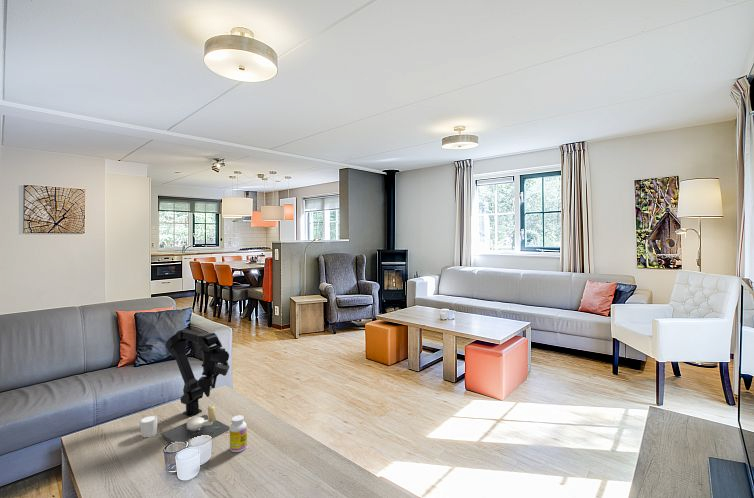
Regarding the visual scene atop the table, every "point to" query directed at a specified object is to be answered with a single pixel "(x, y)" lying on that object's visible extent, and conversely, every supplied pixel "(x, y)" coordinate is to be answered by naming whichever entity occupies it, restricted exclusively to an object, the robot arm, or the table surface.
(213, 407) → the beige rounded piece
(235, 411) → the table surface
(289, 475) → the table surface
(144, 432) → the shot glass
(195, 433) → the base
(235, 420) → the supplement bottle
